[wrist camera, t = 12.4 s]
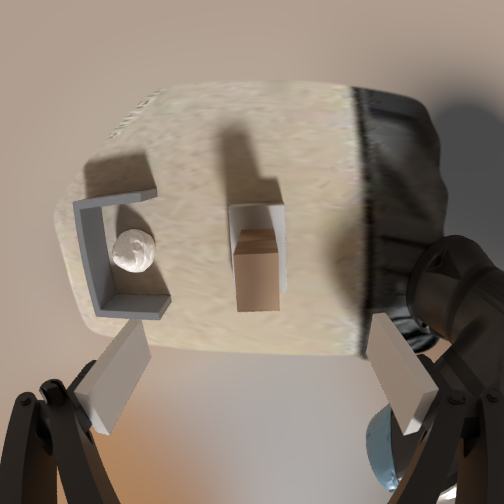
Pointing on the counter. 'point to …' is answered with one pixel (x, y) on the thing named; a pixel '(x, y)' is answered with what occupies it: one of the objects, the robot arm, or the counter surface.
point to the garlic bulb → (134, 250)
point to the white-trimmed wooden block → (258, 254)
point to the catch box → (99, 265)
